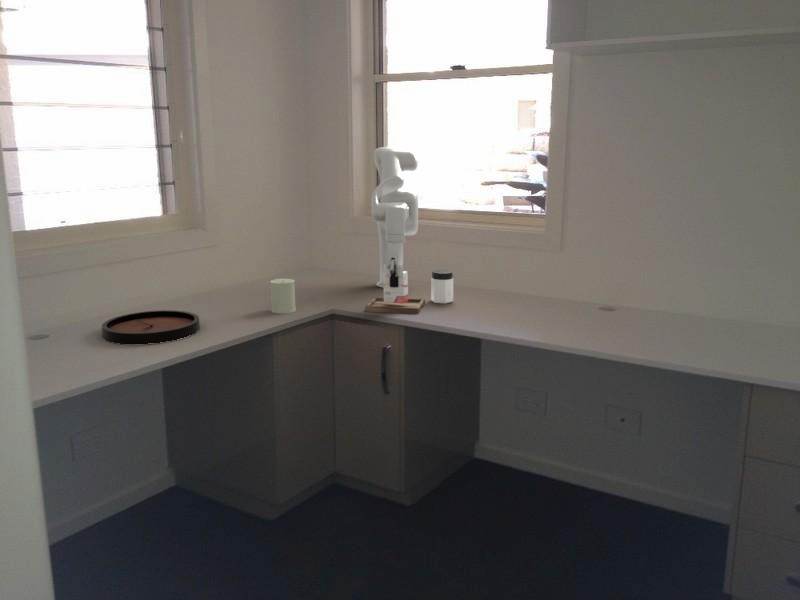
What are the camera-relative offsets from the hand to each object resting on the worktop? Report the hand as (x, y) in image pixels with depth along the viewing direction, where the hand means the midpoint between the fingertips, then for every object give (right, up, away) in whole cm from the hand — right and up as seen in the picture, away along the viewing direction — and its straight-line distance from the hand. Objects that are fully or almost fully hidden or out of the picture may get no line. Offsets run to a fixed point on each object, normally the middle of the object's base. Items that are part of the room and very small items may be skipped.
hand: (395, 284), depth 279 cm
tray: (0, -9, +2) cm, 9 cm away
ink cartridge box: (0, -7, +2) cm, 7 cm away
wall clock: (-83, -17, -30) cm, 90 cm away
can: (-43, -10, -2) cm, 44 cm away
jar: (+18, -6, +12) cm, 23 cm away
